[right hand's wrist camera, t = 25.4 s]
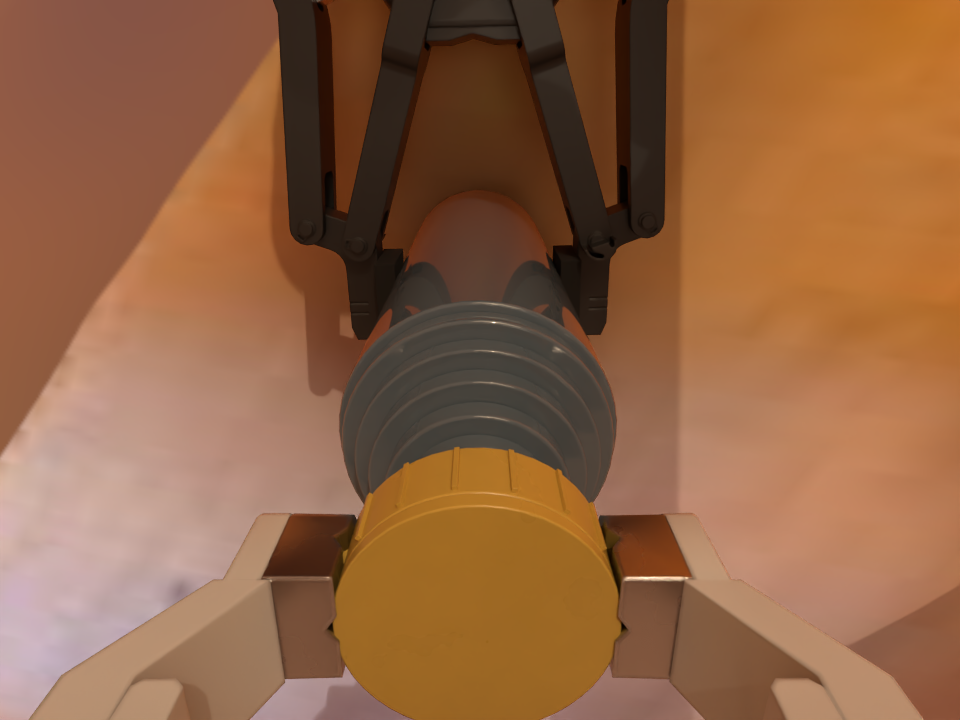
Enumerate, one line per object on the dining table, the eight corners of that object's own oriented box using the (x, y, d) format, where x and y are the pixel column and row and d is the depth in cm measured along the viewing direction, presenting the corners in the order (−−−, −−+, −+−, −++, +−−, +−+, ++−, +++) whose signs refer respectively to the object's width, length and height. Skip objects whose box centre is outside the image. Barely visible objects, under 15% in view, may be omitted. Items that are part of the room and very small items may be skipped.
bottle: (423, 180, 30) (277, 379, 8) (553, 201, 30) (738, 443, 9) (408, 306, 32) (262, 721, 10) (529, 323, 32) (629, 761, 11)
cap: (619, 450, 10) (643, 510, 8) (589, 656, 11) (606, 738, 10) (347, 438, 10) (323, 497, 8) (352, 648, 11) (334, 728, 10)
